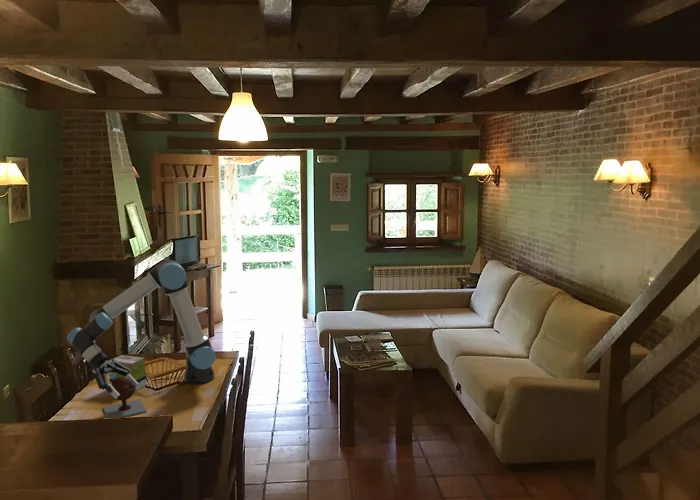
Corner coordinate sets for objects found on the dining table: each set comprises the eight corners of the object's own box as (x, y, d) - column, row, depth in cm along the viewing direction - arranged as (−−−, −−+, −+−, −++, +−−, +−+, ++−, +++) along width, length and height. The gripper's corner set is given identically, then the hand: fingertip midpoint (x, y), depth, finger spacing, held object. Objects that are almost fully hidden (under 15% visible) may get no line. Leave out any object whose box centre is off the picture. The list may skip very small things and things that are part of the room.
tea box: (109, 389, 305) (106, 360, 303) (123, 382, 314) (121, 354, 312) (133, 392, 299) (131, 363, 297) (147, 385, 309) (145, 356, 307)
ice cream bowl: (129, 413, 271) (126, 381, 269) (106, 412, 274) (103, 380, 272) (142, 404, 282) (139, 372, 280) (120, 403, 284) (117, 372, 282)
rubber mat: (139, 400, 288) (139, 399, 288) (146, 412, 275) (146, 410, 274) (103, 408, 281) (102, 406, 281) (108, 420, 267) (108, 419, 267)
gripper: (108, 353, 291) (139, 386, 289) (71, 371, 267) (104, 407, 265) (117, 343, 288) (148, 376, 286) (80, 360, 265) (114, 396, 263)
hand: (127, 391), depth 276 cm, fingers open, 13 cm apart
